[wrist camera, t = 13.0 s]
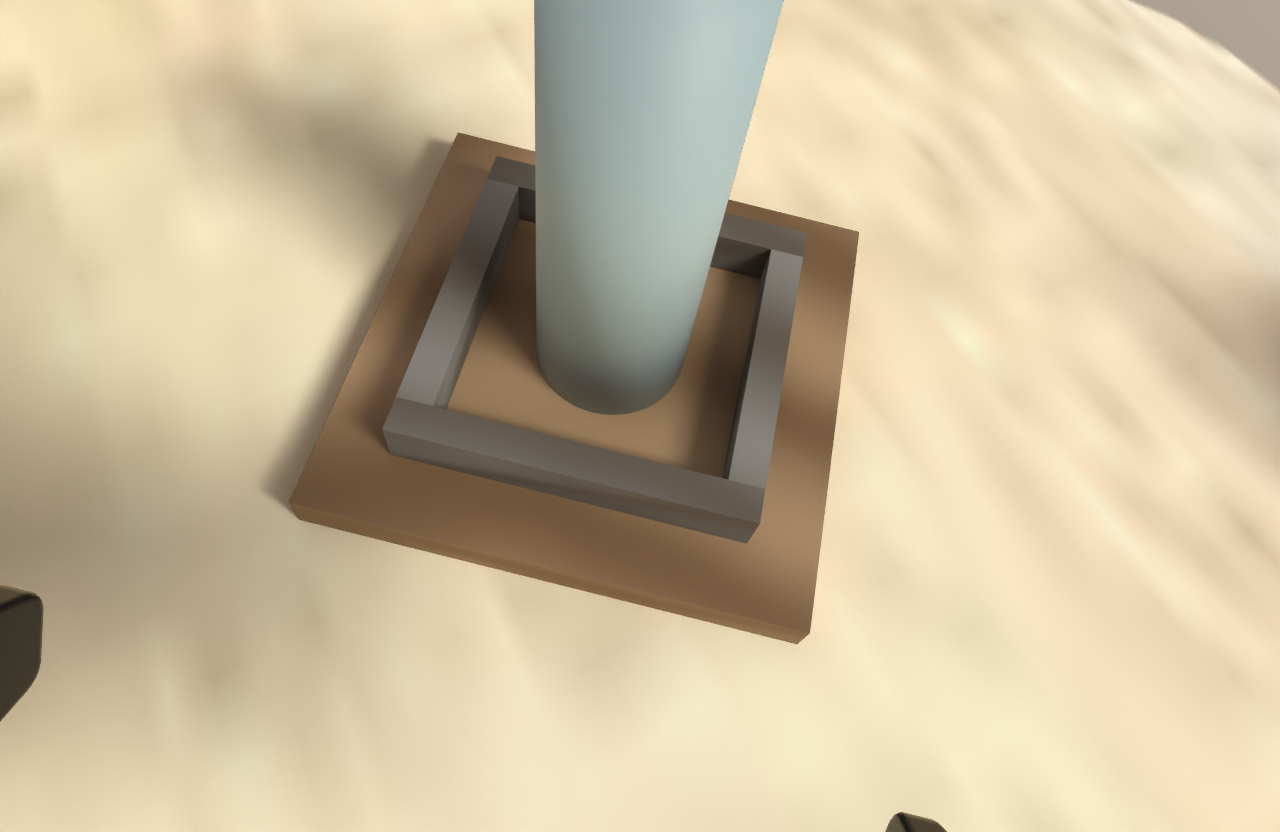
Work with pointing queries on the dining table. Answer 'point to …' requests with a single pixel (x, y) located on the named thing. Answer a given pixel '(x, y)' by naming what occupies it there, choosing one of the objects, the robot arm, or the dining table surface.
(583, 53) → the pale blue cylinder
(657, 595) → the cradle board
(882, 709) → the dining table surface
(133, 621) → the dining table surface
